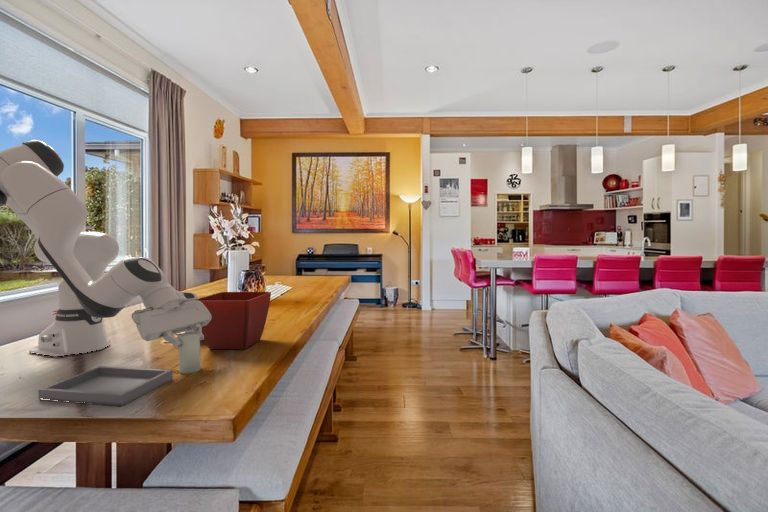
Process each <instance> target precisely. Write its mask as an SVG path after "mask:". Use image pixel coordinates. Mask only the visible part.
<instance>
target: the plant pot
mask: <svg viewBox="0 0 768 512" xmlns="http://www.w3.org/2000/svg"><path fill="white" fill-rule="evenodd" d="M271 296H272V292H271V291H220V292H217V293H214V294H210V295H206V296H202V297H200V298H199V297H198V298H197V300H198V301H200V302H202V303H203V304H204V305H205V307H206V308H207V309H208V311H209V312H210V313H211V315H212V319H211V321H210V322H209V323H208V325H206V326H203V327H202V334H203V335H204V339H205V340H204V341H205V344H206V346H207V347H208V349H211V350H245V349H247V348H249V347H250V346H252V345H254V344H255V343H257V342H259V341H260V340H261V339H262V335H263V332H264V330H265V325H266V322H267V318H268V314H269V309H270V303H271Z"/></svg>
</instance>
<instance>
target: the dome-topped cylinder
mask: <svg viewBox="0 0 768 512" xmlns="http://www.w3.org/2000/svg"><path fill="white" fill-rule="evenodd" d="M178 338H180V339H181V341H182V342H183V344H182V345H181V346H180V347H177V352H178V354H177V355H178V373H180V374H195V373H197V372H199V371H200V370H202V361H201V360H202V359H201V355H202V354H201V340H200V333H198V332H189V333H185V332H182V333H179V334H178V335H177V339H178Z"/></svg>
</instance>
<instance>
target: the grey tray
mask: <svg viewBox="0 0 768 512" xmlns="http://www.w3.org/2000/svg"><path fill="white" fill-rule="evenodd" d="M171 381H173V369H158V368H146V367H145V368H142V367H141V368H140V367H126V366H125V367H121V366H109V365H107V366H105V365H99V366H96V367H94V368H90V369H88V370H86V371H83V372H80V373H78V374H76V375H73V376H70V377H67V378H65V379H63V380H59V381H58V382H54V383H52V384H50V385H47V386H44V387H42V388H39V389H38V391H37V392H38V399H39V398H43V399H50V400H58V401H69V402H83V403H84V402H85V403H92V404H91V405H95V404H101V405H100V406H110V407H123V406H126V405H127V404H129V403H131V402H133V401H135V400H136V399H138V398H141V397H143V396H144V395H146V394H148V393H150V392H152V391H153V390H155V389H157V388H159V387H162V386H163V385H165V384H167V383H168V382H171ZM69 402H68V403H69Z"/></svg>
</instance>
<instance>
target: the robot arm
mask: <svg viewBox="0 0 768 512" xmlns="http://www.w3.org/2000/svg"><path fill="white" fill-rule="evenodd" d="M64 169H65V164H64V162H63V159H62V157H61V156H60V154H59V153H58V152H57V150H55V149H54V148H53V147H52V146H50V145H48V144H47V143H45V142H44V141H42V140H38V139H32V140H27V141H24V142H22V144H18V145H15V146H11V147H9V148H7V149H4V150H1V151H0V207H3V206H6V205H7V206H8V207H9V208H10V210H11V211H12V212H14V214H15V215H16V216H17V217H18V218H19V219H20V221H22V222H23V223H24V224H25V225H26V226H27V227H28V228H29V229H30V231H31V232H32V233H33V235H34V236H35V239H36V241H35V243H34V246H33V251H34V254H35V256H36V257H37V259H38V260H39V261H41V262H43V263H46V264H50V265H52V266H53V268H54V269H55V270H56V272H57V273H58V275H60V277H61V279H62V280H61V282H60V283H59V285H58V287H57V288H58V289H57V290H58V304H59V308H58V309H57V310H53V311H52V316H54V315H56V316H55V320H54V321H53V322H52V323H51V324H49V325H48V326H47V327H46V328H44V329H43V330H42V331H41V332H40V333H39V335H38V339H37V340H38V346H35V347H33V348H30V349H28V353H29V352H34V353H39V354H45V355H51V356H63V355H68V356H71V355H70V354H75V355H80V354H79V353H82V354H88V353H92V352H91V351H93V352H96V350H97V351H99V350H103V349H106V348H108V347H109V346H110V345H111V343H110V338H109V336H108V332H107V327H106V322H105V319H106V318H107V319H108V318H113V317H114V318H115V317H116V316H117V315H118V314H120V312H121V311H122V310H124V308H125V307H126V306H127V305H128V304H130V303H131V302H132V301H134V300H135V299H136V298H137V297H138V298H140V299H141V301H142V304H143V306H144V308H143V309H136V310H134V311H133V312H132V313H131V315H130V317H131V320H132V321H133V322H134V324H135V325H136V329H137V331H138V333H139V335H140V337H141V339H142V340H144V341H146V342H151V341H154V340H158V339H162V338H163V339H164V341H166V342H168V343H170V344H172V345H173V347H174V348H175V349H178V347H180V346H181V345H182V344H183V342H182V341H181V339H180V338H178V337H175V336H174V335H177V334H182V333H185V331H188V330H192V329H193V331H194V332H195V331H196V332H198V333H200V341H203V340H202V339H203V338H204V335H203V334H202V327H203V326H206V325H208V323H209V322H210V321H211V319H212V315H211V313H210V312H209V311H208V309H207V308H206V307H205V305H204V304H203V303H202V302H200V301H198V300H197V299H199V297H198V295H197V294H196V293H194V292H187V291H186V292H185V291H181V290H176V288H174V286H172V285H171V284H170V282H169V279H168V277H167V276H166V275H165V273H164V272H163V270H162V269H161V268H160V267H159V266H158V265H157V264H156V263H155V262H154V261H153V260H152V259H151V258H149V257H145V256H141V257H137V256H126V257H125V258H122V259H121V260H120V261H119V262H117V263H116V264H115V265H113V266H112V267H111V268H109V269H108V271H107V272H105V271H106V269H107V268H108V266H109V265H110V264H111V263H112V262H114V261H115V260H116V258H117V257H118V254H119V253H120V251H119V250H120V248H119V243H118V240H117V239H116V237H114V236H113V235H112V234H108V233H104V232H99V231H83V229H84V228H85V225H86V222H87V218H88V209H87V206H86V204H85V203H84V202H83V200H82V199H81V198H80V197H79V195H77V194H76V192H74V191H73V189H71V188H70V187H69V186H68V185H67V184H66V183H65V182H64V181H63V180H61V178H59V176H60V175H61V174H62V173H63V172H64ZM107 346H108V347H107ZM105 347H106V348H105ZM87 352H88V353H87ZM63 357H64V356H63Z"/></svg>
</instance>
